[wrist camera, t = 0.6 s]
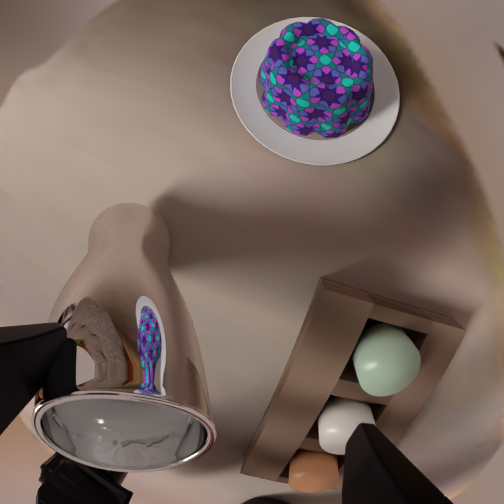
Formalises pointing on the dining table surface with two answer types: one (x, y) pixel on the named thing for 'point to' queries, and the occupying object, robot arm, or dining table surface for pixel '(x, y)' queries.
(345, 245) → the dining table surface
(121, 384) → the beer glass
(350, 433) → the cream button
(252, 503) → the cola bottle
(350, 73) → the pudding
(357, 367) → the green button
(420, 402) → the button panel
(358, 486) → the robot arm
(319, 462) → the brown rounded piece
